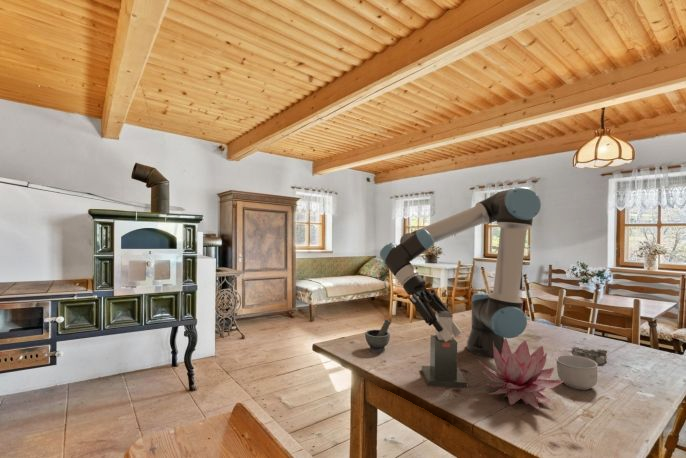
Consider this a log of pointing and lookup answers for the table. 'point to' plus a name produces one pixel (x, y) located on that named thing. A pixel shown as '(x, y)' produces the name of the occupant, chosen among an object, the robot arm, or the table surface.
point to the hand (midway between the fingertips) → (454, 336)
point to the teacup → (577, 371)
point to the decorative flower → (522, 374)
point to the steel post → (444, 323)
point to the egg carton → (591, 354)
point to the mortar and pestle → (378, 338)
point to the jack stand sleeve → (443, 365)
